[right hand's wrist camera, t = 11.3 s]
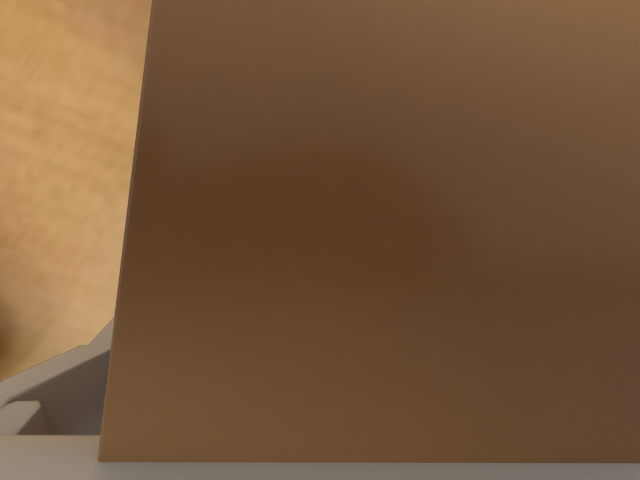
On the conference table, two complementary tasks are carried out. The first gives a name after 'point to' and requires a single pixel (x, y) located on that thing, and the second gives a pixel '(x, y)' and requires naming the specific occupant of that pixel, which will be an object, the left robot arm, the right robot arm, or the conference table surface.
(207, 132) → the bar
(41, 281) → the conference table surface
